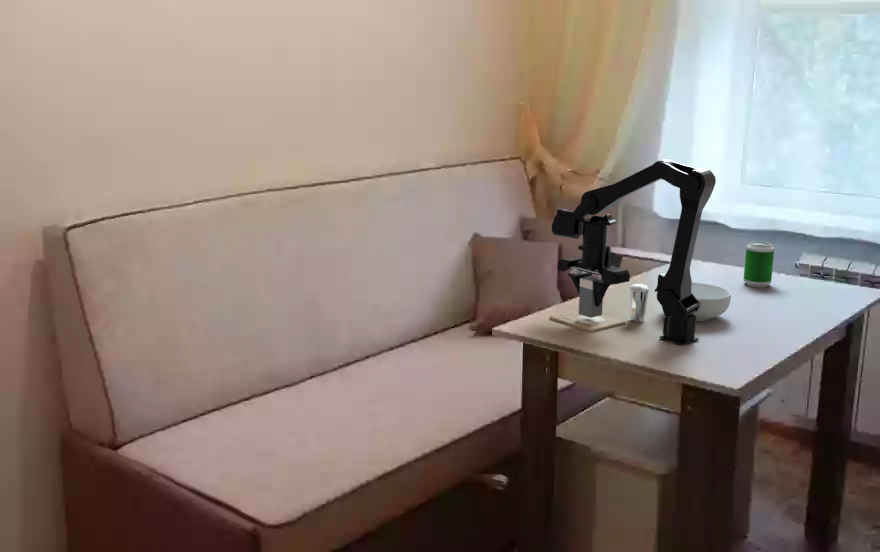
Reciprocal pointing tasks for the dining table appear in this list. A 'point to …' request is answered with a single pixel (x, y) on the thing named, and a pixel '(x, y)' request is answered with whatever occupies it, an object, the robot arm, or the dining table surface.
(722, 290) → the cereal bowl
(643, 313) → the milkshake
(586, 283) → the grey and white block
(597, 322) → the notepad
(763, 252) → the soda can
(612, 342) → the dining table surface
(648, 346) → the dining table surface
